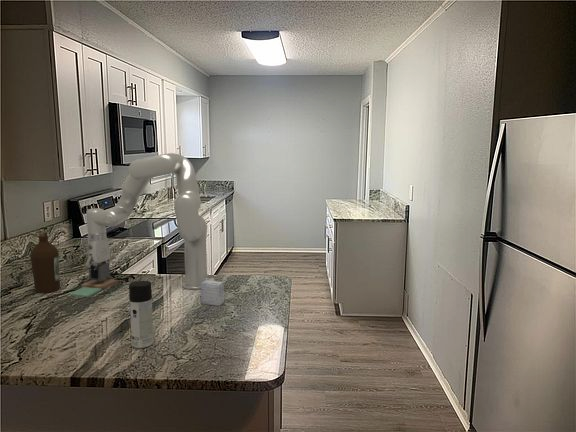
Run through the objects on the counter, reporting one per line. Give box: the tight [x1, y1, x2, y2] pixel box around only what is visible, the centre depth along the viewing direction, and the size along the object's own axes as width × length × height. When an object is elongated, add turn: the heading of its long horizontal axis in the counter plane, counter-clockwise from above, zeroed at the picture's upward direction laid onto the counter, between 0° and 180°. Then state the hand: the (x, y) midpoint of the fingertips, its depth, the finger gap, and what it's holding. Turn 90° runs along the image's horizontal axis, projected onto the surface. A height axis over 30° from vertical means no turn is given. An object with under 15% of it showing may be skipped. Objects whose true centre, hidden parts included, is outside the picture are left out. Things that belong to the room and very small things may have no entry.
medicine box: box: [200, 280, 225, 307], centre depth 173 cm, size 8×4×9 cm, turn 71°
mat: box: [68, 287, 103, 298], centre depth 185 cm, size 9×9×1 cm
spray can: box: [128, 280, 154, 350], centre depth 136 cm, size 7×7×20 cm
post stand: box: [80, 278, 120, 290], centre depth 195 cm, size 12×10×8 cm
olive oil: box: [30, 231, 61, 294], centre depth 186 cm, size 11×11×25 cm
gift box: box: [88, 262, 111, 281], centre depth 195 cm, size 6×6×7 cm
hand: (99, 275), depth 195 cm, fingers closed on gift box, 6 cm apart
